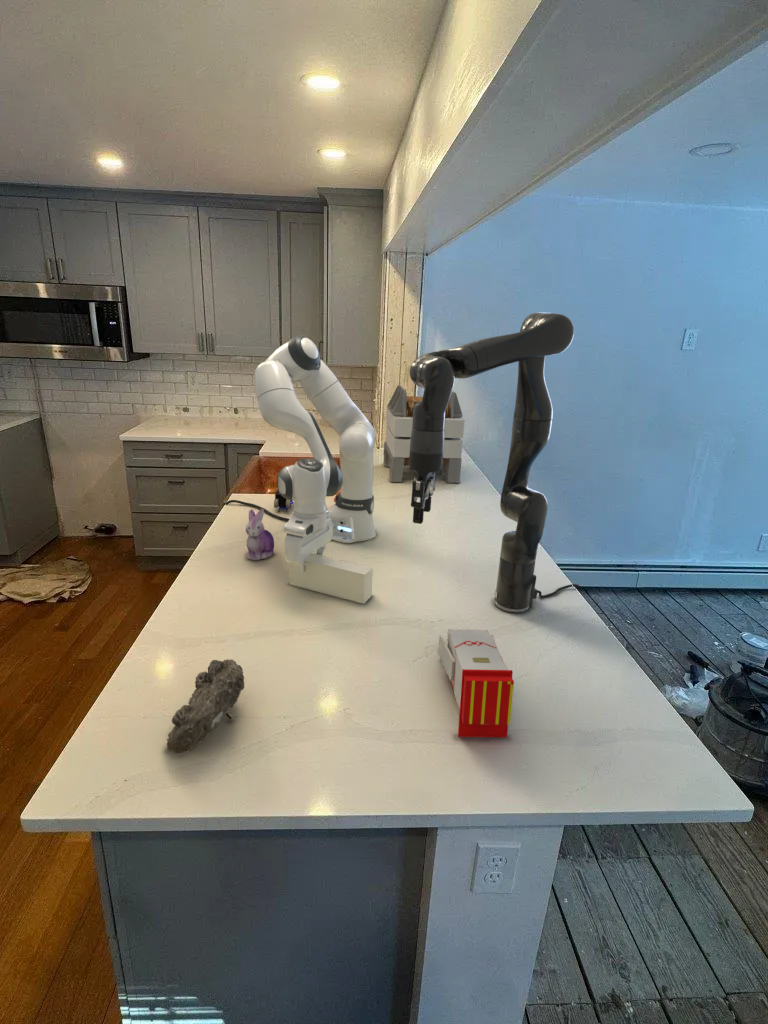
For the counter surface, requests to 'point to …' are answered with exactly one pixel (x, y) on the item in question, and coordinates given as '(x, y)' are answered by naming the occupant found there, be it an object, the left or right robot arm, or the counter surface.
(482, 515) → the counter surface
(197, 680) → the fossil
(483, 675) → the toy
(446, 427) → the slatted wooden crate
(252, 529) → the figurine
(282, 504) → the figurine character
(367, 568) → the bar
